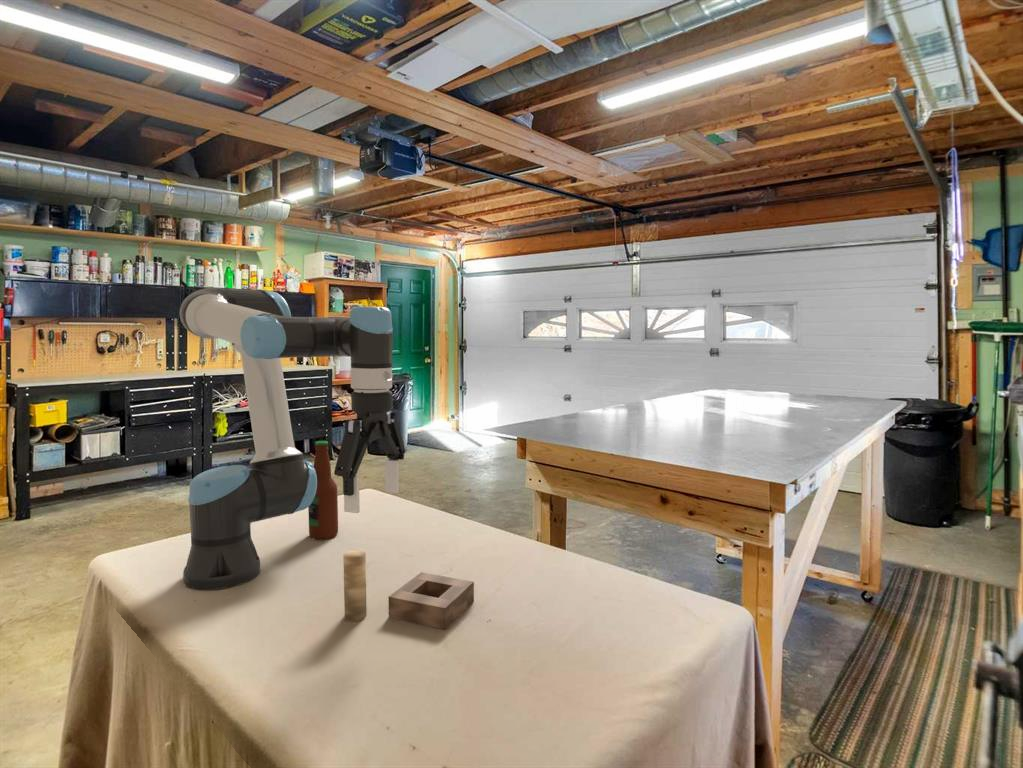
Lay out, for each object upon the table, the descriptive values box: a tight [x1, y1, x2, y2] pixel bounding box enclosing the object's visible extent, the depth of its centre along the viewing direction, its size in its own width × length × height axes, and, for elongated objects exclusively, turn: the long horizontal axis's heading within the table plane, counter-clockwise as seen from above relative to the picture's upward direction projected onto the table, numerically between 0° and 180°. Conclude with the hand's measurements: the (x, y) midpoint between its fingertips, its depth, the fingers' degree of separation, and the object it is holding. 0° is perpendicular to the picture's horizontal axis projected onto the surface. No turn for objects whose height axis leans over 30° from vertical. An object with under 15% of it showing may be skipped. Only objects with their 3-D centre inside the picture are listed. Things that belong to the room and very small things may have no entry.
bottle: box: [307, 440, 339, 541], centre depth 151 cm, size 7×7×25 cm
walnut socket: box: [388, 572, 475, 630], centre depth 112 cm, size 12×12×4 cm
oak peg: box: [343, 550, 368, 622], centre depth 109 cm, size 4×4×12 cm
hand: (373, 501), depth 110 cm, fingers open, 13 cm apart
